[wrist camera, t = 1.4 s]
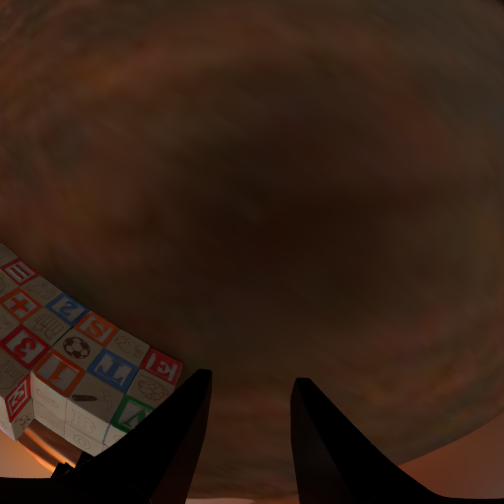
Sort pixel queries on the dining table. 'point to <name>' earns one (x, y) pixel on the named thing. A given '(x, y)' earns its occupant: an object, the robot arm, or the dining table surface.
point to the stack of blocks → (71, 365)
